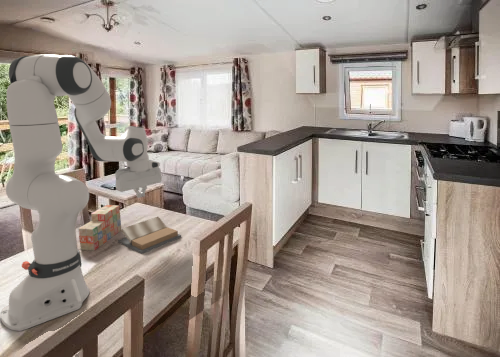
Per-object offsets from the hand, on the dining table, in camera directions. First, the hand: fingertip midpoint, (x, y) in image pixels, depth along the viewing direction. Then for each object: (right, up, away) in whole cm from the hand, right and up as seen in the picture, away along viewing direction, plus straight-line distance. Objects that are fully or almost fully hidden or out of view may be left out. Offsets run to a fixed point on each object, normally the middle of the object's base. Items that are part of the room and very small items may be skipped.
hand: (140, 196), depth 140 cm
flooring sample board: (+3, -19, +2) cm, 19 cm away
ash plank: (+1, -15, +3) cm, 15 cm away
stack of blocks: (-17, -19, +2) cm, 26 cm away
